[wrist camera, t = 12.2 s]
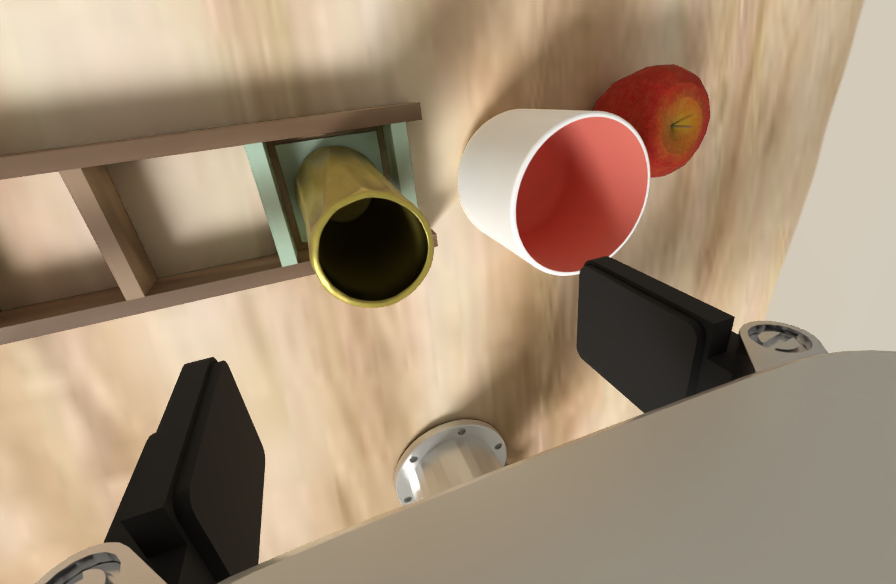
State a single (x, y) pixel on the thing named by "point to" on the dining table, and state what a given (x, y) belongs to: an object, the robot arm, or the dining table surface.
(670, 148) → the apple
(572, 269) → the cup
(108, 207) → the wooden compartment tray
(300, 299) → the dining table surface
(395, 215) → the vase
